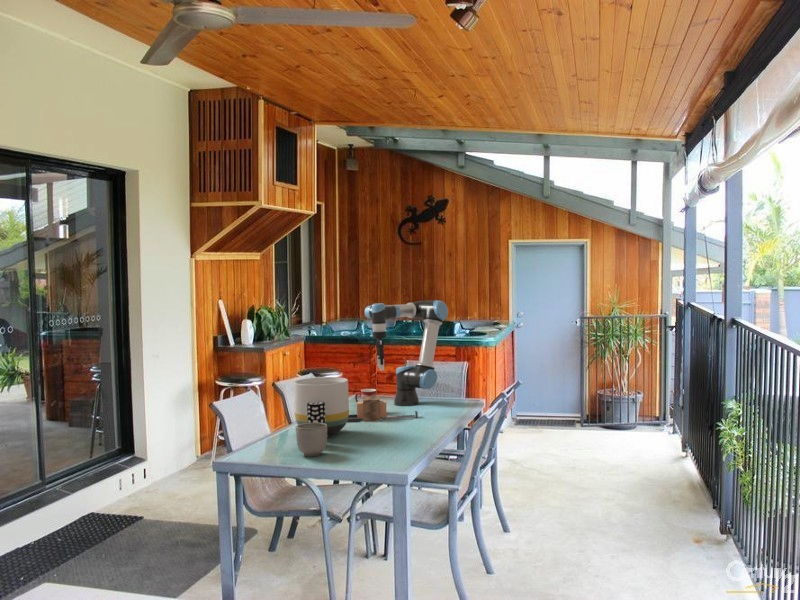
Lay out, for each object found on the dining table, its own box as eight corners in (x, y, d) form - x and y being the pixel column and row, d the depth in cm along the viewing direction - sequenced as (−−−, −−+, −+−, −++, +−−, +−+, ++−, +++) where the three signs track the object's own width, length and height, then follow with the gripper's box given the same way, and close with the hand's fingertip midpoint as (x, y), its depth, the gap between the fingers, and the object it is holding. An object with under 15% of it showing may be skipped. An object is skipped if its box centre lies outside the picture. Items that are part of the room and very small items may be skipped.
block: (357, 418, 383) (356, 403, 383) (357, 416, 388) (356, 401, 388) (386, 417, 384) (386, 402, 383) (386, 415, 389) (385, 400, 389)
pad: (382, 420, 382) (382, 419, 382) (381, 417, 391) (381, 416, 391) (413, 419, 383) (413, 418, 383) (412, 415, 392) (412, 415, 392)
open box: (363, 421, 380) (363, 400, 380) (363, 417, 392) (363, 396, 392) (380, 420, 380) (379, 399, 380) (380, 416, 392) (379, 396, 392)
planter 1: (360, 432, 354) (358, 378, 353) (325, 443, 332) (324, 386, 331) (319, 427, 369) (318, 375, 368) (284, 437, 347) (282, 382, 346)
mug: (379, 412, 405) (378, 389, 405) (373, 415, 397) (372, 391, 396) (359, 411, 410) (358, 388, 409) (353, 414, 401) (352, 390, 401)
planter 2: (334, 453, 311) (333, 424, 310) (310, 460, 300) (309, 430, 300) (313, 449, 320) (313, 421, 320) (290, 455, 310) (289, 426, 309)
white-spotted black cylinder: (304, 446, 327) (303, 403, 326) (318, 443, 332) (317, 400, 332) (315, 449, 321) (314, 405, 320) (330, 445, 327) (328, 402, 326)
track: (361, 420, 383) (360, 414, 383) (361, 418, 388) (360, 413, 388) (417, 418, 385) (417, 412, 385) (417, 416, 390) (416, 411, 390)
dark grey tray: (343, 422, 379) (343, 419, 379) (344, 418, 391) (343, 414, 391) (360, 421, 380) (359, 418, 380) (360, 417, 392) (360, 414, 392)
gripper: (371, 329, 405) (372, 366, 406) (374, 333, 381) (375, 372, 382) (384, 328, 406) (385, 365, 407) (388, 332, 381) (389, 371, 382)
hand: (380, 368), depth 394 cm, fingers open, 13 cm apart
